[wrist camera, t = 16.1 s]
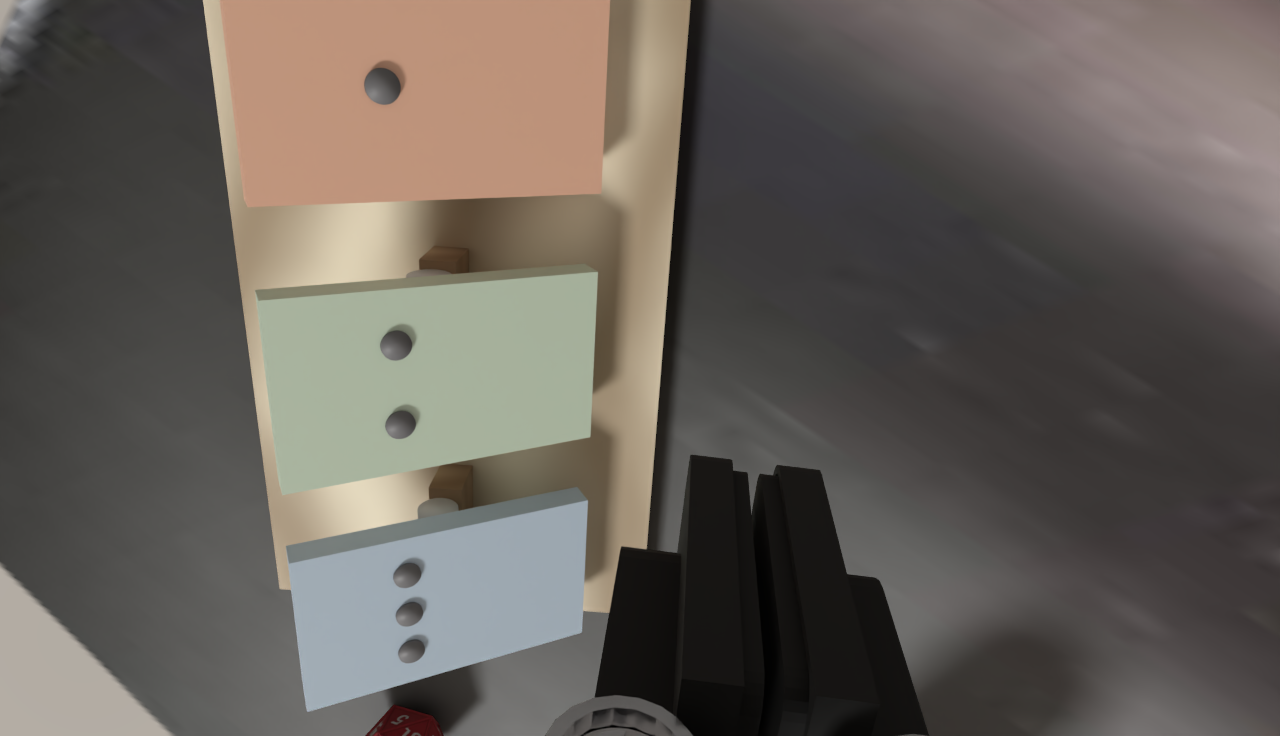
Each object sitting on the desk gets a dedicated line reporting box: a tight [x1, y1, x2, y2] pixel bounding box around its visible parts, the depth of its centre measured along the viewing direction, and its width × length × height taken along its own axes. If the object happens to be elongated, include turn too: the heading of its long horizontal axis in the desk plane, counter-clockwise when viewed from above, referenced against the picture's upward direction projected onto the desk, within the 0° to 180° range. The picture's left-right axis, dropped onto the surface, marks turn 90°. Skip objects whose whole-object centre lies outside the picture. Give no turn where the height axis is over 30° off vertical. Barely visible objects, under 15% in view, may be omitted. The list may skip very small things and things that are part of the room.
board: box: [203, 0, 691, 613], centre depth 29 cm, size 15×24×3 cm, turn 176°
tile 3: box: [286, 487, 588, 712], centre depth 29 cm, size 10×6×2 cm, turn 85°
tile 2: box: [255, 264, 598, 495], centre depth 26 cm, size 10×6×2 cm, turn 85°
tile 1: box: [220, 0, 610, 207], centre depth 23 cm, size 10×6×2 cm
